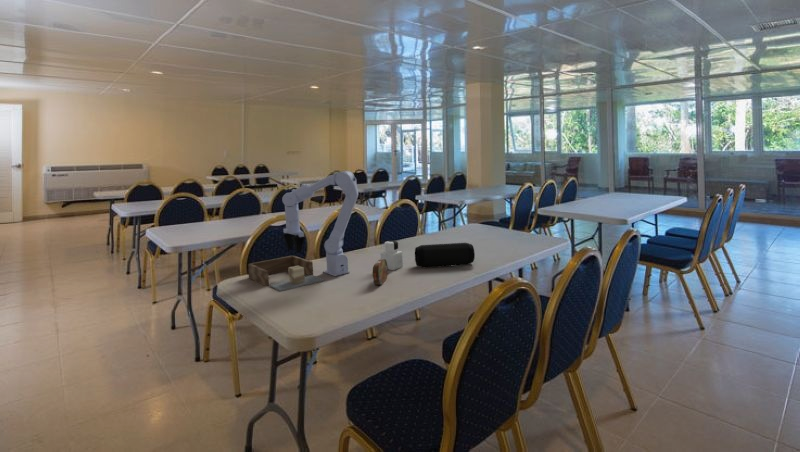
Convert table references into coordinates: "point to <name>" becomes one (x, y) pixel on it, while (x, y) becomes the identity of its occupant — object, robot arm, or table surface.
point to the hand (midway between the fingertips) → (294, 251)
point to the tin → (380, 272)
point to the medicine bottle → (392, 255)
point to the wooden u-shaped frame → (277, 268)
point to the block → (296, 274)
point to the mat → (288, 285)
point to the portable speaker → (444, 254)
